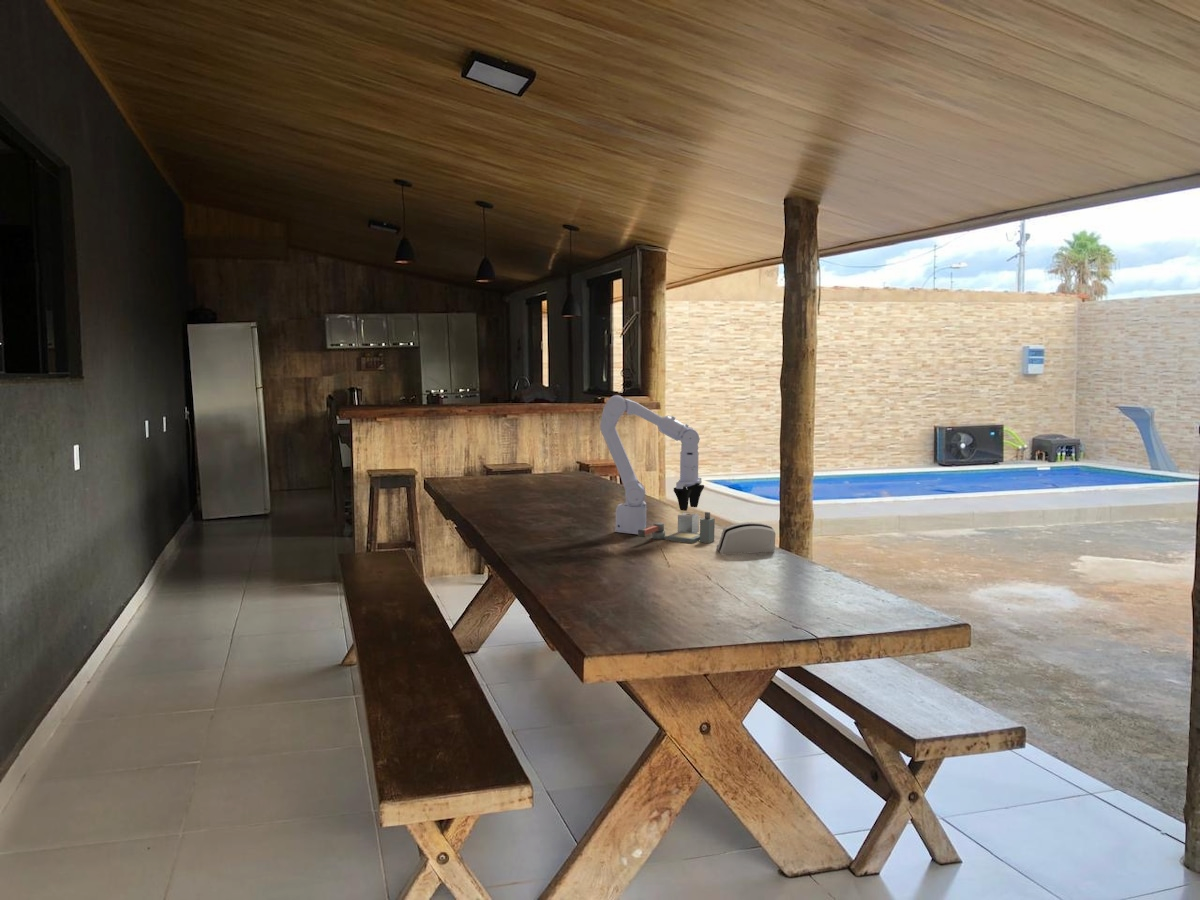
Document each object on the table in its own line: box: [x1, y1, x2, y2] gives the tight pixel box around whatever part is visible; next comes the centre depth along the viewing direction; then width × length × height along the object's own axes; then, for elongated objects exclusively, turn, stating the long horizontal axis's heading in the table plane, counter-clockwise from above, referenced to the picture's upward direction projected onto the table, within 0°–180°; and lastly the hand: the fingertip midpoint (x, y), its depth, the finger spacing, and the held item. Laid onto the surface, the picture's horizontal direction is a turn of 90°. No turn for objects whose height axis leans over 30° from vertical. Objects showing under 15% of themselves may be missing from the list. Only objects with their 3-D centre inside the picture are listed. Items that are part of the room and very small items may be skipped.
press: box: [651, 511, 716, 544], centre depth 287 cm, size 18×10×9 cm, turn 59°
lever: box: [637, 522, 665, 538], centre depth 284 cm, size 3×14×2 cm, turn 149°
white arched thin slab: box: [715, 521, 776, 555], centre depth 269 cm, size 17×5×10 cm, turn 105°
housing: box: [677, 512, 700, 534], centre depth 298 cm, size 5×5×6 cm
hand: (688, 508), depth 297 cm, fingers open, 7 cm apart
